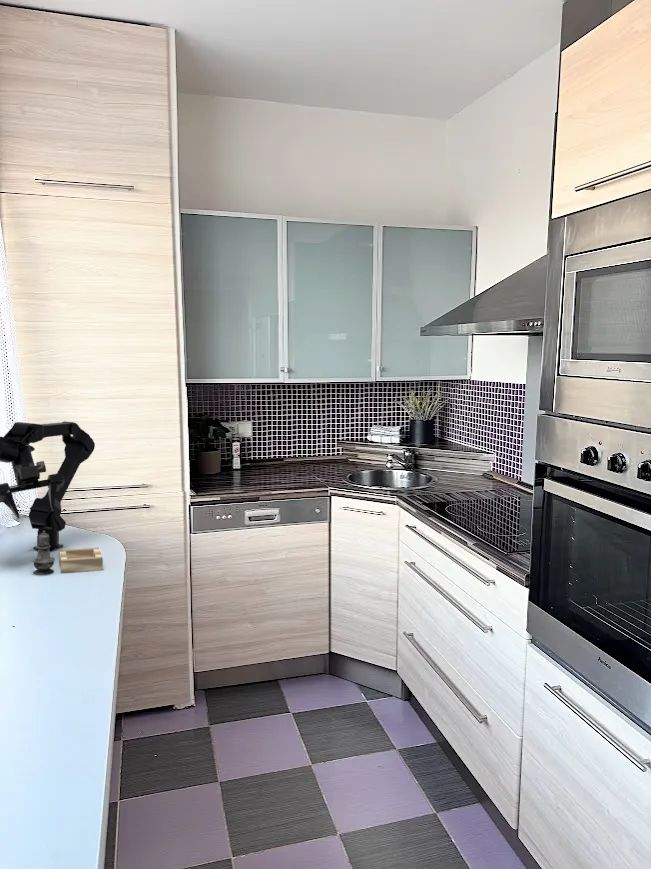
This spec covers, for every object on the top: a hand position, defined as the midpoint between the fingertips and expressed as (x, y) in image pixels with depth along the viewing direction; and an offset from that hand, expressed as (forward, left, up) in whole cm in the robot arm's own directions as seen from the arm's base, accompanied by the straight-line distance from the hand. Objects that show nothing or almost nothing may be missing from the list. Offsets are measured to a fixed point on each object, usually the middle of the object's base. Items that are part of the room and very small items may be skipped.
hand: (36, 514), depth 186 cm
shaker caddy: (-5, +11, -15) cm, 19 cm away
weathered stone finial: (+3, +5, -16) cm, 17 cm away
